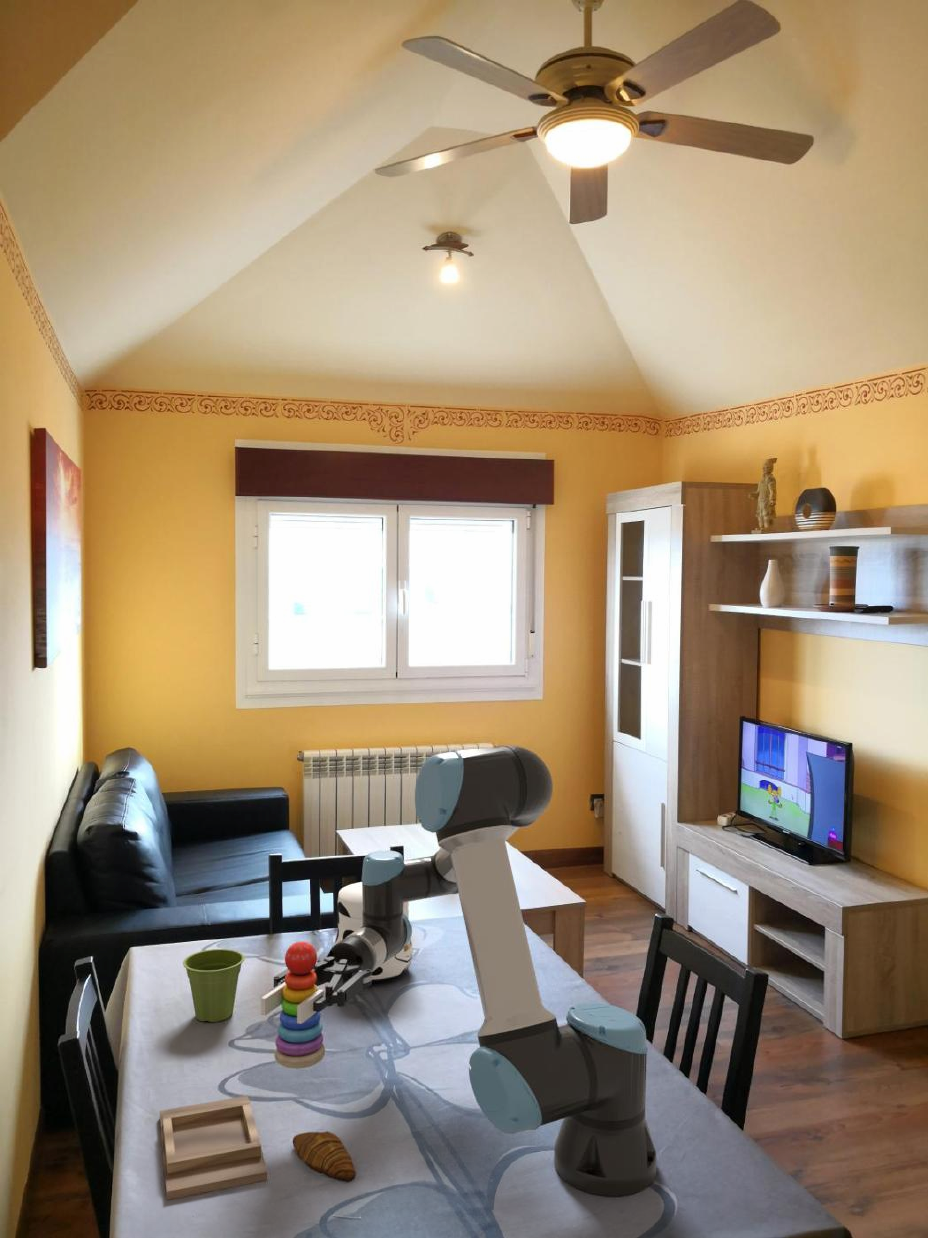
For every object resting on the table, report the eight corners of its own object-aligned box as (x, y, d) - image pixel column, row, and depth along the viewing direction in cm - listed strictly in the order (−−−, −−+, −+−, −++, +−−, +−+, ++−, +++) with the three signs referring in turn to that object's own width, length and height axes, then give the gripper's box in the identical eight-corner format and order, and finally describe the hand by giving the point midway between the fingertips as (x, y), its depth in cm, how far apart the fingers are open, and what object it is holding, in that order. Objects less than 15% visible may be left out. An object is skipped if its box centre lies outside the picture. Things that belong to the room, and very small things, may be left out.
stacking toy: (314, 1074, 153) (312, 955, 152) (266, 1068, 155) (264, 951, 154) (332, 1049, 161) (331, 936, 160) (286, 1044, 163) (285, 932, 162)
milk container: (423, 981, 213) (423, 899, 212) (344, 994, 207) (344, 909, 206) (398, 952, 229) (398, 876, 228) (325, 963, 223) (324, 884, 222)
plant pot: (257, 1010, 199) (257, 955, 198) (214, 1034, 189) (214, 976, 188) (214, 997, 205) (213, 944, 204) (170, 1019, 195) (169, 963, 194)
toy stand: (267, 1180, 144) (267, 1162, 144) (167, 1200, 139) (166, 1181, 139) (247, 1102, 164) (247, 1087, 164) (159, 1118, 160) (159, 1102, 160)
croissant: (276, 1157, 150) (276, 1125, 150) (312, 1138, 155) (312, 1107, 155) (333, 1196, 141) (333, 1162, 140) (369, 1175, 146) (369, 1142, 145)
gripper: (403, 987, 170) (333, 1047, 149) (310, 968, 178) (230, 1023, 157) (404, 944, 170) (333, 998, 149) (310, 927, 178) (230, 976, 156)
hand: (281, 1010), depth 153 cm, fingers closed on stacking toy, 6 cm apart
